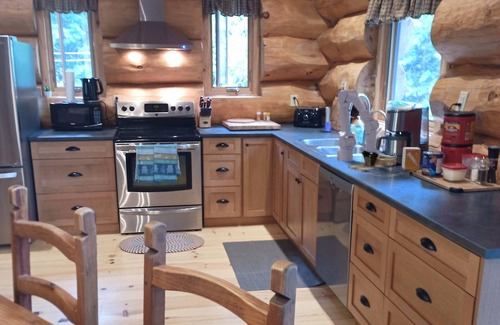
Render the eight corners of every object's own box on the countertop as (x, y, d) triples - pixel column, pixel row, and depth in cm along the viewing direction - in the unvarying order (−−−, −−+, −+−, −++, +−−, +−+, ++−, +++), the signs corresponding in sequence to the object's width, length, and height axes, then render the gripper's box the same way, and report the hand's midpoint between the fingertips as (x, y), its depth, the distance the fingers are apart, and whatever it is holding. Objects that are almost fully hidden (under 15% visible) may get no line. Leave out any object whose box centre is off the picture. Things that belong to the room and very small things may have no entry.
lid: (378, 156, 266) (379, 151, 265) (387, 154, 269) (387, 150, 269) (389, 158, 259) (389, 153, 259) (397, 156, 263) (398, 152, 262)
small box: (404, 172, 247) (405, 148, 245) (401, 169, 254) (402, 146, 251) (419, 172, 247) (420, 149, 244) (416, 169, 253) (417, 146, 250)
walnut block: (364, 167, 258) (365, 156, 257) (369, 167, 261) (370, 156, 259) (369, 169, 255) (370, 158, 254) (374, 168, 257) (375, 157, 256)
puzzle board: (348, 168, 258) (348, 159, 257) (378, 163, 271) (379, 155, 270) (364, 172, 247) (365, 163, 246) (395, 167, 260) (396, 158, 259)
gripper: (356, 140, 259) (355, 163, 261) (375, 143, 246) (374, 167, 249) (365, 139, 262) (364, 161, 265) (384, 142, 250) (383, 166, 253)
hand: (369, 164), depth 257 cm, fingers closed on walnut block, 4 cm apart
